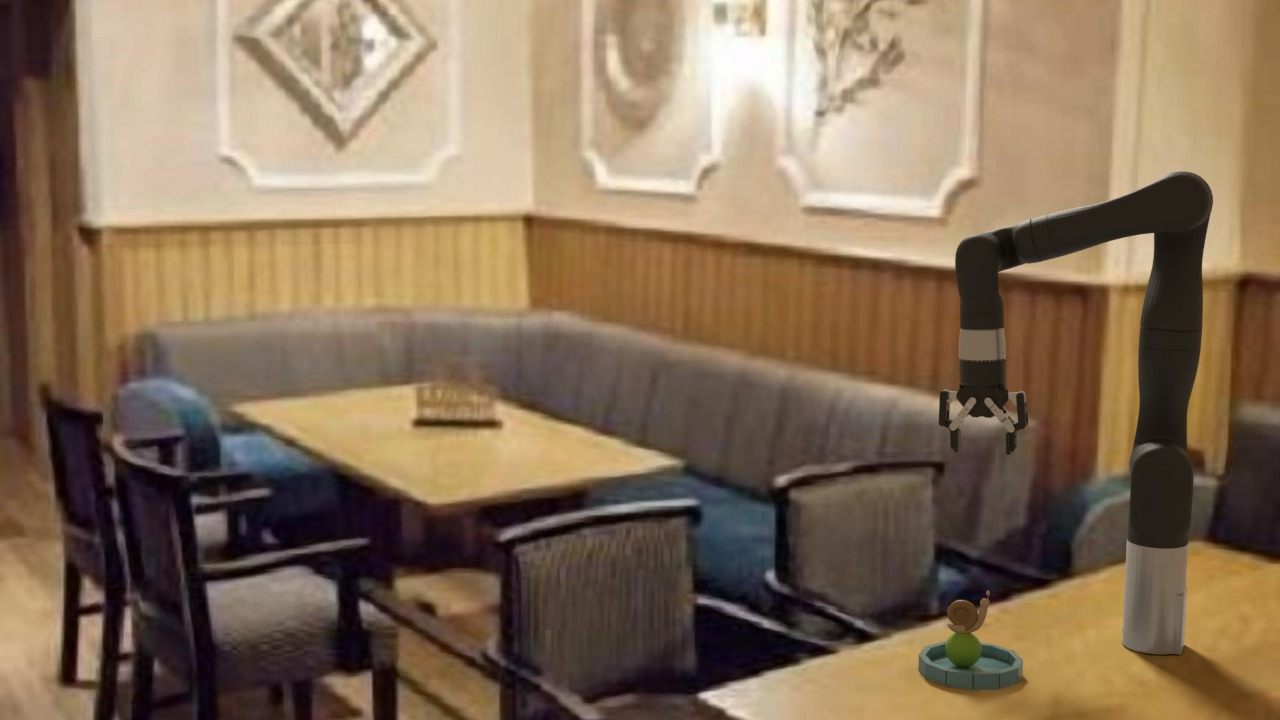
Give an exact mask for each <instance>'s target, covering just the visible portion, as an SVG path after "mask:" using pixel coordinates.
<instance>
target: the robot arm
mask: <svg viewBox="0 0 1280 720" xmlns="http://www.w3.org/2000/svg"><path fill="white" fill-rule="evenodd" d="M1213 205H1214V195H1213V191H1212V189H1211V186H1210V185H1209V183H1208V182H1207V181H1206V180H1205V179H1204V178H1203V177H1202V176H1200V175H1198V174H1196V173H1193V172H1190V171H1175V172H1174V171H1173V172H1170V173H1167V174H1164V175H1163V176H1161V177H1160V178H1158V180H1157V179H1156V181H1154V182H1151V183H1149V184H1148V185H1144V186H1143V187H1140V188H1138V189H1136V190H1134V191H1132V192H1129V193H1126V194H1123V195H1121V196H1118V197H1116V198H1111V199H1108V200H1105V201H1101V202H1097V203H1092V204H1088V205H1084V206H1078V207H1074V208H1073V207H1072V208H1067V209H1064V210H1060V211H1059V210H1058V211H1055V212H1052V213H1048V214H1045V215H1041V216H1037V217H1033V218H1030V219H1027V220H1023V221H1021V222H1019V223H1017V224H1015V225H1011V226H1006V227H1003V228H996V229H992V230H988V231H985V232H979V233H975V234H970V235H968V236H966V237H965V238H964V239H962V240H961V241H960V243H959V244H958V246H957V248H956V251H955V256H954V257H955V258H954V261H955V262H954V265H955V266H954V267H955V276H956V282H957V283H956V284H957V289H958V295H959V302H960V303H959V304H960V305H959V328H960V329H959V337H958V374H959V375H958V379H959V382H958V385H959V386H958V390H957V391H956V390H950V389H949V388H945V389H943V390H941V391H940V392H939V403H938V405H939V406H938V425H939V426H940V427H944V428H946V429H948V430H949V433H950V435H949V439H950V441H949V442H950V443H949V445H950V448H951V450H953V453H956V454H959V453H960V452H961V451H962V429H961V428H960V426H961V425H962V424H963V422H965V421H966V419H967V418H968V417H969V416H971V417H972V418H980V417H983V418H986V419H987V418H988V419H992V418H994V417H996V419H997V420H998V421H999V423H1001V424H1002V426H1004V428H1005V429H1006V432H1005V455H1006V456H1012V455H1013V454H1014V452H1015V451H1016V450H1017V447H1018V446H1017V445H1018V444H1017V443H1018V440H1017V439H1018V437H1017V434H1018V431H1020V430H1025V428H1027V427H1028V426H1029V414H1028V412H1029V411H1028V400H1027V399H1028V398H1027V397H1028V395H1027V391H1025V390H1021V391H1017V392H1015V391H1013V392H1009V390H1008V388H1007V353H1008V351H1007V346H1006V345H1007V343H1006V341H1007V340H1006V334H1005V312H1004V309H1005V308H1004V307H1005V306H1004V305H1005V304H1004V300H1003V297H1002V295H1001V293H1000V288H999V287H1000V285H999V284H1000V282H999V273H1000V272H1004V271H1006V270H1007V271H1008V270H1010V269H1013V268H1017V267H1019V266H1022V265H1026V264H1037V263H1041V262H1046V261H1049V260H1053V259H1056V258H1061V257H1063V256H1068V255H1071V254H1074V253H1078V252H1081V251H1085V250H1086V249H1090V248H1093V247H1096V246H1099V245H1102V244H1104V243H1105V244H1106V243H1108V242H1112V241H1116V240H1120V239H1123V238H1124V239H1125V238H1130V237H1133V236H1138V235H1139V236H1140V235H1147V234H1153V258H1152V266H1151V271H1150V274H1149V278H1148V282H1147V286H1146V289H1145V294H1144V298H1143V304H1142V309H1141V315H1140V323H1139V325H1140V326H1139V332H1138V333H1139V336H1138V351H1137V352H1138V353H1137V356H1138V357H1137V358H1138V360H1137V363H1138V364H1137V373H1138V375H1137V376H1138V377H1137V378H1138V380H1137V381H1138V395H1139V397H1138V398H1139V399H1138V400H1139V405H1138V415H1137V416H1138V417H1137V423H1136V428H1135V435H1134V439H1133V444H1132V450H1131V453H1130V457H1129V462H1128V463H1129V466H1128V468H1129V470H1128V471H1129V474H1130V492H1129V512H1128V520H1127V527H1126V529H1127V530H1126V547H1125V548H1126V551H1125V552H1126V553H1125V570H1124V571H1125V574H1124V594H1123V614H1122V615H1123V616H1122V618H1123V619H1122V621H1123V622H1122V645H1123V646H1124V647H1125V648H1128V649H1130V650H1132V651H1135V652H1139V653H1144V654H1151V655H1182V653H1183V649H1184V645H1185V638H1186V637H1185V636H1186V618H1187V617H1186V616H1187V600H1188V599H1187V598H1188V587H1187V577H1188V576H1187V571H1188V556H1189V553H1188V552H1189V551H1188V550H1189V537H1190V536H1189V535H1190V529H1191V525H1192V515H1193V513H1192V512H1193V500H1194V499H1193V498H1194V469H1193V464H1192V463H1191V461H1190V458H1189V452H1188V451H1189V450H1188V410H1189V404H1190V399H1191V396H1192V391H1193V388H1194V386H1195V385H1194V384H1195V381H1196V378H1197V373H1198V369H1199V363H1200V357H1201V350H1202V338H1203V337H1202V336H1203V320H1204V317H1203V316H1204V286H1203V285H1204V284H1203V283H1204V282H1203V259H1204V258H1203V257H1204V250H1205V244H1206V238H1207V233H1208V228H1209V222H1210V218H1211V214H1212V210H1213ZM955 399H957V401H958V403H960V405H961V406H962V408H961V410H960V411H959V412H958V413H957V414H956V416H955V418H954V419H950V411H951V410H950V409H951V407H950V406H951V404H952V403H953V402H955V401H954V400H955ZM1009 400H1010V401H1012V404H1013V405H1014V406H1016V413H1017V421H1016V422H1015V420H1014V419H1013V418H1012V417H1011V414H1010V413H1009V411H1008V410H1007V409H1006V407H1005V405H1006V403H1008V401H1009Z"/></svg>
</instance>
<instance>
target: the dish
mask: <svg viewBox="0 0 1280 720" xmlns="http://www.w3.org/2000/svg"><path fill="white" fill-rule="evenodd" d="M946 642H947V640H946V641H940V642H937V643H933V644H929V645H926V646H924V647H923V648H922V650H921V651H920V652H919V653H918V671H919V672H920V674H921V675H922V676H923V675H924V676H923V677H924V678H925V679H926V678H927V680H928V679H930V680H929V681H931V680H932V682H933V681H934V683H936V682H937V683H936V684H939V685H941V684H943V685H942V686H944V685H946V686H945V687H947V686H950V687H949V688H954V687H957V688H956V689H961V688H964V690H969V691H984V690H985V691H987V690H989V691H990V690H1001V689H1005V688H1008V687H1011V686H1014V685H1017V684H1018V683H1019V681H1020V680H1021V679H1022V676H1023V673H1024V672H1023V670H1024V669H1023V667H1024V659H1023V658H1022V657H1021V656H1020V655H1019V654H1018V653H1016V651H1014V650H1012V649H1008V648H1006V647H1003V646H1002V645H1001V646H1000V645H998V644H995V643H989V642H980V644H981V648H982V652H981V656H980V658H979V660H978V661H977V662H976V663H975V664H974V665H972V666H970V667H958V666H956V665H954V664H953V663H951V662H950V660H949V659H948V657H947V655H946V652H945V645H946Z"/></svg>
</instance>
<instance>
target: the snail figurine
mask: <svg viewBox="0 0 1280 720" xmlns="http://www.w3.org/2000/svg"><path fill="white" fill-rule="evenodd" d="M985 593H986V596H987V598H985V597H983V598H981V599H980V602H979V603H980V604H979V605H980V608H979V612H978V609H977V608H976V606H975V605H974V604H973V602H972V601H971V602H970V601H968V600H965V599H957V600H954V601H953V602H952V603H951V604H950V605H949V606H948V608H947V613H946V614H947V618H948V620H949V621H950V622H951V623H947V625H946V627H948V629H949V630H951V631H952V632H953V633H952V634H951V635H950V636H949V637H948V638H947V640H946V641H947V642H946V645H945V652H946V655H947V657H948V659H949V660H950V662H951V663H953V664H954V665H956V666H958V667H970V666H972V665H974V664H975V663H976V662H977V661H978V660H979V658H980V656H981V652H982V648H981V644H980V639H979V638H978V637H977V636H976V635H975V634H974V632H976V631H978V630H980V629H981V627H982V626H983V624H984V622H985V620H986V616H987V613H988V610H989V609H988V608H989V607H990V603H991V601H990V599H989V596H990V595H991V594H990V593H991V592H990V590H986V592H985Z"/></svg>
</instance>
